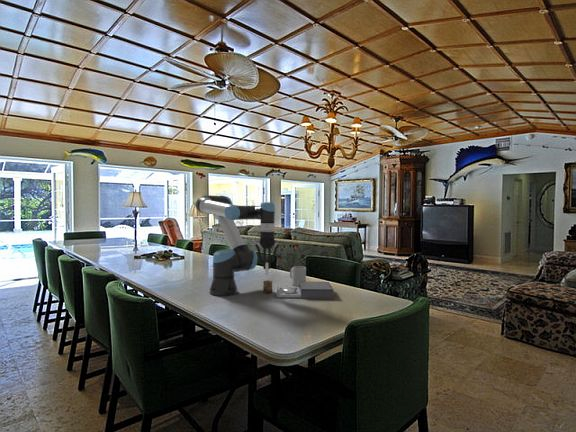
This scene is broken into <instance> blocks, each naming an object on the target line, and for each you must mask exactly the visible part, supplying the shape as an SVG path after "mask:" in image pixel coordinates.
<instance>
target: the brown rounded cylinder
mask: <svg viewBox="0 0 576 432" xmlns="http://www.w3.org/2000/svg"><path fill="white" fill-rule="evenodd" d="M262 286H263V293H264V294H271V293H273V280H268V279H267V280H263V285H262Z"/></svg>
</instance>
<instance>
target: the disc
mask: <svg viewBox="0 0 576 432" xmlns="http://www.w3.org/2000/svg"><path fill="white" fill-rule="evenodd" d="M285 287H286V288H282V293H285V294H294V293H296V292H297V289H296V288H293V287H294V286H290V287H289V286H288V287H287V286H285Z"/></svg>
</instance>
